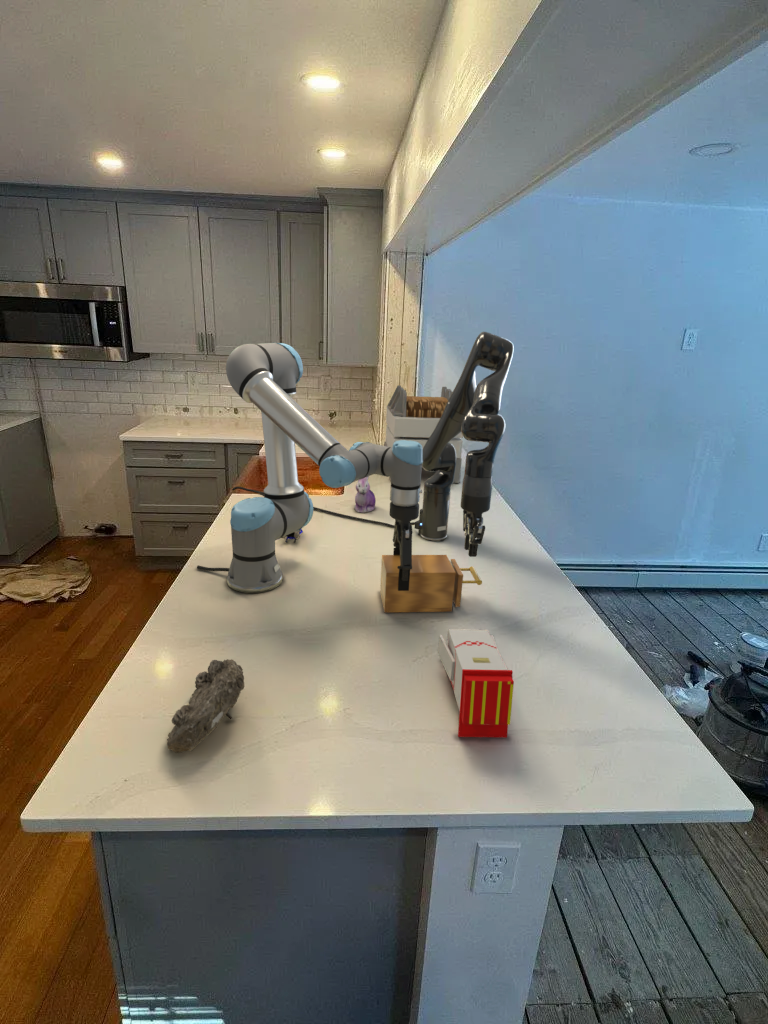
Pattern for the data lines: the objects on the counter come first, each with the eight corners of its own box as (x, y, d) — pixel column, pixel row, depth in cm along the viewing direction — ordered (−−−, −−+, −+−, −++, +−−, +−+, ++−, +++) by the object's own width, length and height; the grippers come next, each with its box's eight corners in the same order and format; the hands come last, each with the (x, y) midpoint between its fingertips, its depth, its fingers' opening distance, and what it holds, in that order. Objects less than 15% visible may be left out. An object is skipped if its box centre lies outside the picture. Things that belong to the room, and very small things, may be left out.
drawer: (471, 589, 160) (474, 558, 157) (480, 606, 151) (484, 574, 148) (393, 589, 158) (395, 559, 155) (398, 607, 148) (399, 575, 145)
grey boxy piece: (382, 463, 289) (386, 382, 275) (445, 464, 293) (451, 384, 279) (390, 482, 257) (394, 392, 243) (460, 483, 261) (468, 394, 247)
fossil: (192, 660, 117) (244, 628, 112) (224, 691, 120) (276, 661, 115) (142, 746, 98) (202, 712, 93) (182, 779, 101) (242, 748, 96)
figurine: (359, 514, 216) (360, 476, 211) (348, 506, 225) (349, 469, 220) (381, 511, 220) (382, 474, 215) (369, 503, 229) (371, 467, 224)
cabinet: (443, 591, 160) (446, 554, 156) (451, 611, 150) (455, 572, 146) (380, 592, 158) (381, 554, 154) (384, 612, 148) (386, 572, 144)
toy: (488, 613, 130) (523, 677, 101) (484, 667, 133) (517, 744, 104) (435, 612, 130) (455, 676, 101) (432, 666, 133) (451, 743, 103)
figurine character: (300, 549, 187) (305, 527, 200) (299, 528, 183) (305, 508, 197) (279, 548, 187) (286, 527, 200) (279, 528, 183) (285, 507, 197)
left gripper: (427, 518, 133) (421, 600, 141) (412, 488, 155) (407, 560, 163) (395, 518, 132) (391, 601, 140) (385, 488, 154) (381, 561, 162)
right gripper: (499, 500, 139) (491, 564, 145) (483, 483, 152) (477, 542, 158) (469, 500, 138) (462, 564, 144) (456, 483, 151) (450, 542, 157)
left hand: (400, 579), depth 151 cm, fingers closed on cabinet, 11 cm apart
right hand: (470, 552), depth 151 cm, fingers open, 3 cm apart
